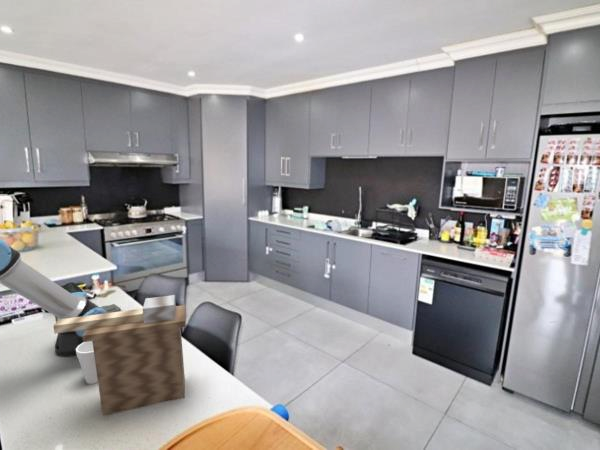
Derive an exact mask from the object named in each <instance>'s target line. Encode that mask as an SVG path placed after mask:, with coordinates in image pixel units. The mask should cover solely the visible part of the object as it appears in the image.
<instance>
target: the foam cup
mask: <svg viewBox="0 0 600 450" xmlns="http://www.w3.org/2000/svg"><path fill="white" fill-rule="evenodd" d="M76 354H77V355H76V357H77V359H78V361H79V365H80V367H81V370H82V372H83V376H84V378H85V379H84V380H85V381H86V382H85V383H86V384H89V385H91V384H96V383H97V384H98V378H97V371H96V364H95V357H94V349H93V342H92V341H88V342H83V343H81V344H80V345H78V347H77V348H76Z"/></svg>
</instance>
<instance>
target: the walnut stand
mask: <svg viewBox="0 0 600 450" xmlns="http://www.w3.org/2000/svg"><path fill="white" fill-rule="evenodd" d="M186 311H187V309H186V304H182V305H176V315H175V320H168V321H161V322H154V323H147V324H144V321H141V322H134V323H127V324H120V325H113V326H105V327H98V328H91V329H86V331H85V332H84V334H83V336H82V337H83V342H88V341H92V342H93V349H94V357H95V364H96V371H97V378H98V382H97V384H98V391H99V398H100V399H99V400H100V405H101V413H102V416H105V415H106V416H107V415H111V414H115V413H121V412H125V411H129V410H133V409H139V408H143V407H148V406H152V405H157V404H161V403H165V402H171V401H176V400H179V399H185V393H186V392H185V391H186V390H185V388H186V387H185V382H186V381H185V380H186V379H185V364H184V352H183V341H182V340H183V339H182V328H186V318H187V317H186V316H187V315H186V313H187V312H186Z"/></svg>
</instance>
